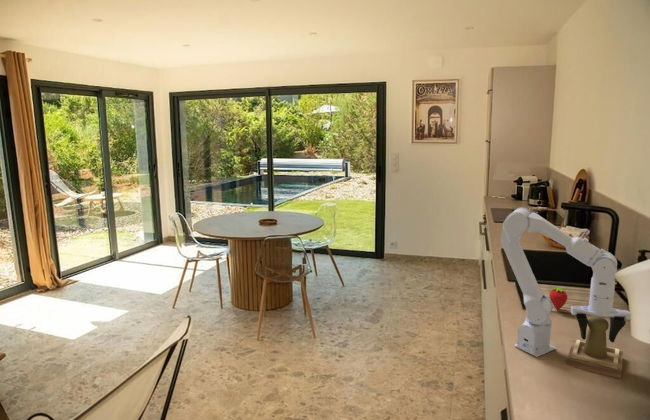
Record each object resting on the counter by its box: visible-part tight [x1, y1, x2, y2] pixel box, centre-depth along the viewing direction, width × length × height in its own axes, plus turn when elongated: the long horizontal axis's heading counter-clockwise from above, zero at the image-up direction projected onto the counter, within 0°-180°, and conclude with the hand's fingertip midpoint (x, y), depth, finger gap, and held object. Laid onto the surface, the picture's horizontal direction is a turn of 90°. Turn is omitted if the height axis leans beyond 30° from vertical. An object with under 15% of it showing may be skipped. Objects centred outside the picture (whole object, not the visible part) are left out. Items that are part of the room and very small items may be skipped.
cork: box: [583, 316, 610, 359], centre depth 128 cm, size 6×6×11 cm
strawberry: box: [548, 286, 568, 311], centre depth 164 cm, size 6×8×10 cm
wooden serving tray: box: [566, 339, 624, 379], centre depth 128 cm, size 13×13×3 cm
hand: (597, 339), depth 127 cm, fingers open, 7 cm apart
